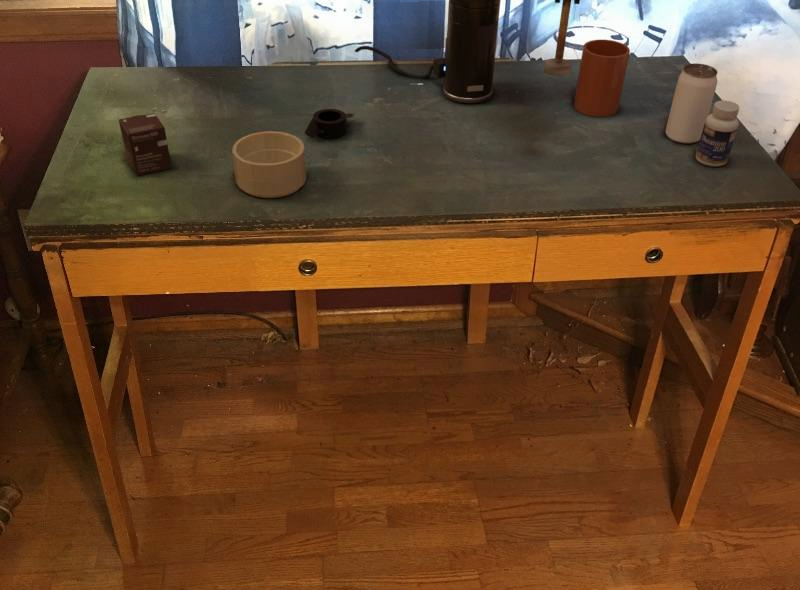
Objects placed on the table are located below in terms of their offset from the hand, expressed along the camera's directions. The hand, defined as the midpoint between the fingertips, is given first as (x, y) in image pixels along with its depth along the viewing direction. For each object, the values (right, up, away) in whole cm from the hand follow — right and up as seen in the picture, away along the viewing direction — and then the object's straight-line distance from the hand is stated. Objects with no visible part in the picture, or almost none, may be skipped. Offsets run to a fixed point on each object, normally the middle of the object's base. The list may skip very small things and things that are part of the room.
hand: (566, 1), depth 125 cm
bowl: (-45, -23, +14) cm, 53 cm away
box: (-66, -19, +17) cm, 71 cm away
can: (+26, -11, +29) cm, 40 cm away
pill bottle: (+29, -17, +22) cm, 41 cm away
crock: (+13, -3, +37) cm, 39 cm away
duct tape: (-37, -11, +27) cm, 47 cm away
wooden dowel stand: (0, -8, +6) cm, 10 cm away
